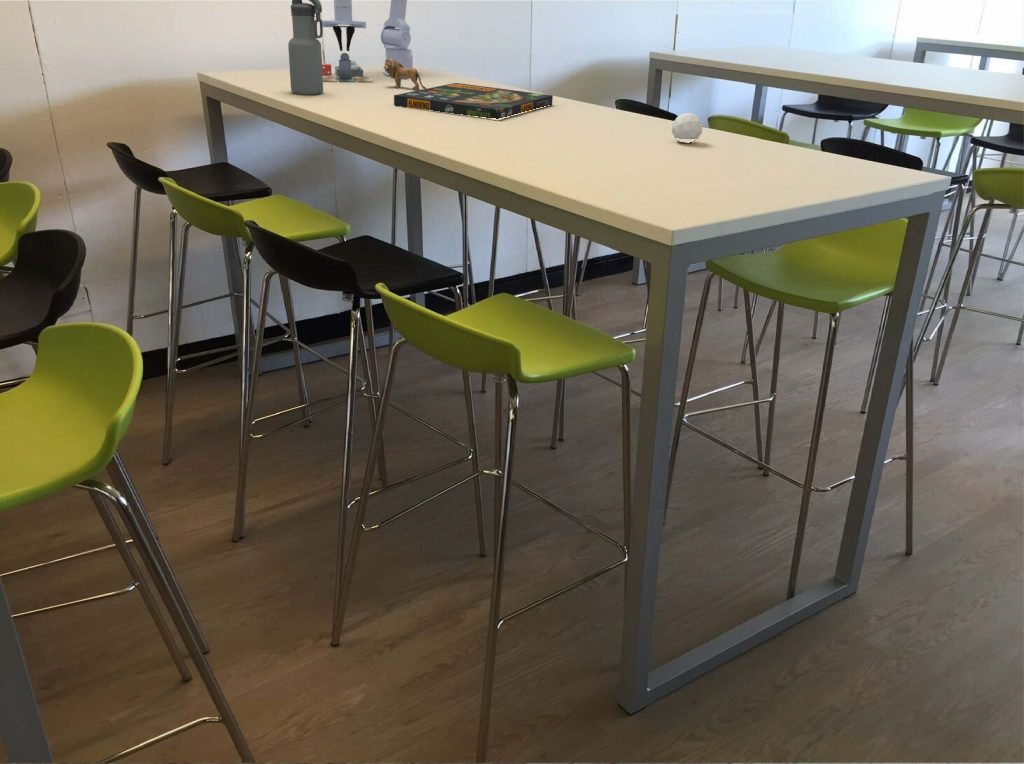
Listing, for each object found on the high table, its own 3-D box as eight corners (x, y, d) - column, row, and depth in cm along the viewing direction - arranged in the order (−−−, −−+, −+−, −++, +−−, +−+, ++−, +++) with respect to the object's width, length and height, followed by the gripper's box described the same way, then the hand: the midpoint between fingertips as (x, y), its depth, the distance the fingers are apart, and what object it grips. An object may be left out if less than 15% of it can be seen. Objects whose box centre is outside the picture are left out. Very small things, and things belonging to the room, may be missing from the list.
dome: (357, 71, 316) (356, 59, 314) (359, 73, 310) (359, 62, 308) (339, 70, 314) (338, 59, 312) (340, 73, 308) (340, 61, 307)
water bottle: (328, 91, 278) (324, -6, 266) (319, 96, 269) (314, -4, 257) (296, 89, 279) (291, -8, 266) (286, 94, 270) (280, -6, 258)
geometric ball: (683, 155, 230) (675, 132, 224) (671, 138, 236) (664, 115, 230) (709, 141, 229) (703, 117, 223) (698, 124, 234) (691, 101, 228)
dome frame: (360, 73, 317) (360, 66, 316) (363, 77, 310) (363, 69, 309) (335, 73, 315) (335, 66, 314) (337, 76, 308) (337, 69, 307)
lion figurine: (381, 87, 291) (381, 58, 287) (388, 85, 295) (387, 57, 291) (423, 91, 287) (423, 62, 283) (429, 89, 292) (429, 60, 288)
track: (368, 78, 308) (368, 76, 308) (372, 82, 300) (372, 81, 300) (318, 77, 304) (318, 76, 304) (321, 81, 295) (321, 80, 295)
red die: (330, 74, 313) (330, 63, 311) (331, 75, 310) (331, 64, 308) (320, 73, 312) (320, 63, 310) (321, 75, 309) (320, 64, 307)
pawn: (350, 77, 304) (350, 52, 300) (352, 79, 300) (351, 53, 297) (339, 77, 303) (338, 52, 299) (340, 79, 299) (339, 53, 296)
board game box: (394, 107, 261) (393, 95, 260) (455, 94, 289) (455, 82, 288) (498, 122, 247) (498, 109, 246) (552, 107, 275) (552, 95, 274)
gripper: (321, 7, 286) (323, 51, 292) (366, 8, 290) (367, 52, 296) (319, 5, 292) (321, 49, 298) (363, 6, 296) (365, 50, 302)
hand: (344, 50), depth 298 cm, fingers closed
